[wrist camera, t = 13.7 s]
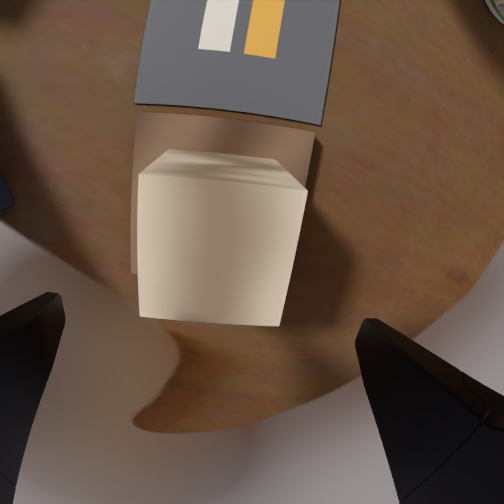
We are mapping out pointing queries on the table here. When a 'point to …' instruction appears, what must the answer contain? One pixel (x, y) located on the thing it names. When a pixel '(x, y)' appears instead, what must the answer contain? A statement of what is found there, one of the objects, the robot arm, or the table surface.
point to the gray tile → (239, 55)
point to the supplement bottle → (496, 8)
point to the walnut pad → (214, 146)
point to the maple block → (216, 237)
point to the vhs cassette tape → (5, 196)
